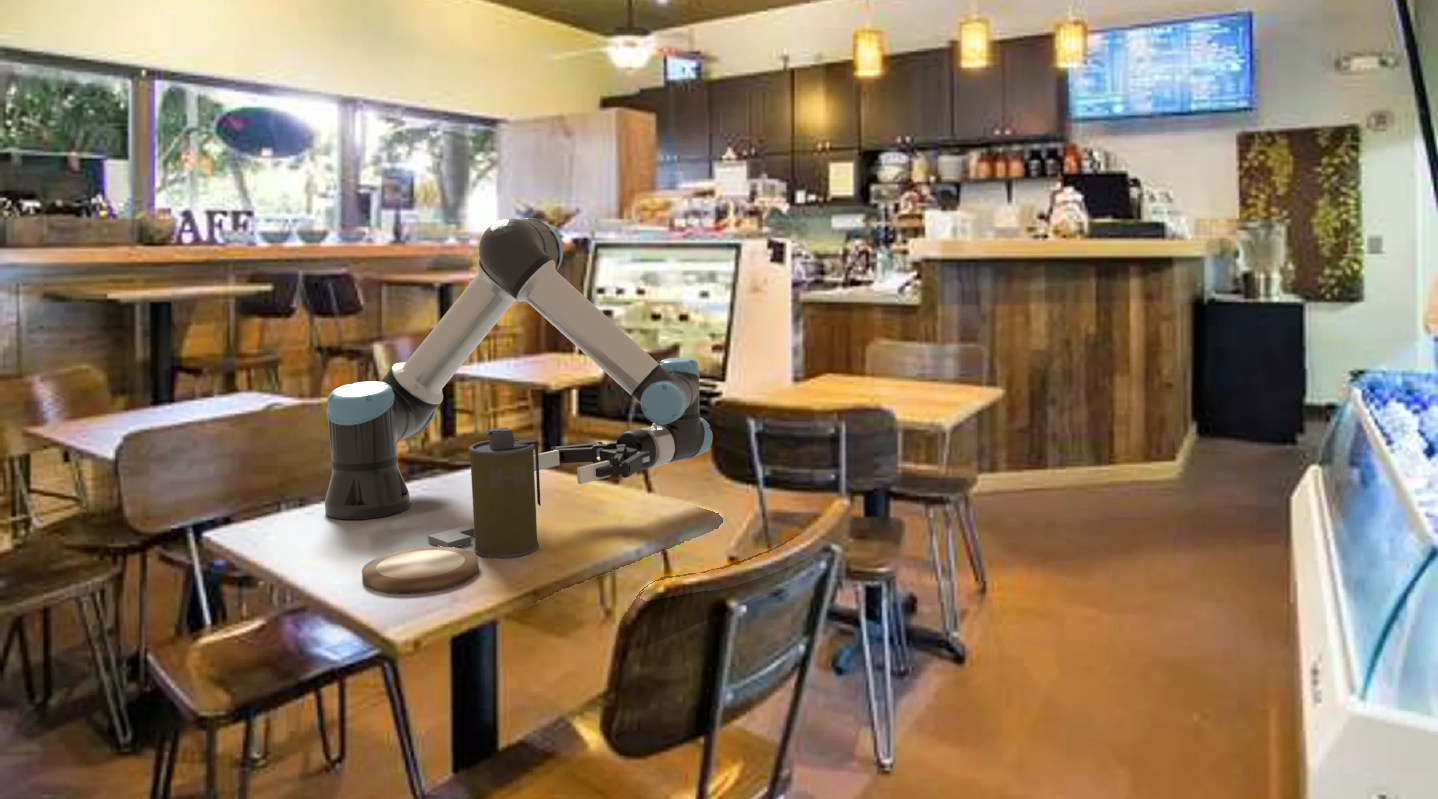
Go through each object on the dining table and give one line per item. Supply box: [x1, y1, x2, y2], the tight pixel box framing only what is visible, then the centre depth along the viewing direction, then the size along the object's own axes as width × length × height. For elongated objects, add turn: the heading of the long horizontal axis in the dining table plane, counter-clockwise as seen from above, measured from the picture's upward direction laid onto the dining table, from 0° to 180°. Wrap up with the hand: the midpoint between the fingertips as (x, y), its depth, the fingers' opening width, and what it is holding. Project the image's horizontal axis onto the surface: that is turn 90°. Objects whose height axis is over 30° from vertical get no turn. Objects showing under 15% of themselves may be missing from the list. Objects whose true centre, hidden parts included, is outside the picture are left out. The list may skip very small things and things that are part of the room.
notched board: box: [427, 523, 475, 548], centre depth 170 cm, size 6×12×1 cm, turn 138°
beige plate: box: [361, 546, 480, 595], centre depth 152 cm, size 17×17×2 cm
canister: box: [468, 426, 541, 559], centre depth 162 cm, size 11×10×20 cm
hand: (552, 469), depth 169 cm, fingers open, 13 cm apart
